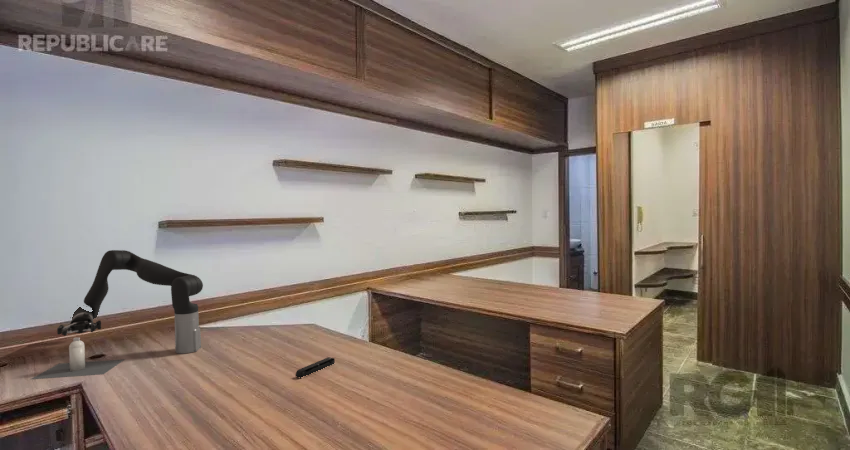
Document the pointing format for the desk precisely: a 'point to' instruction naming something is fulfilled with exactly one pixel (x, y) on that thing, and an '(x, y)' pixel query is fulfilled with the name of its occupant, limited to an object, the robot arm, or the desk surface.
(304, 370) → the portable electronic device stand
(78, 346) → the white domed bottle
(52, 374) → the desk mat
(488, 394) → the desk surface
